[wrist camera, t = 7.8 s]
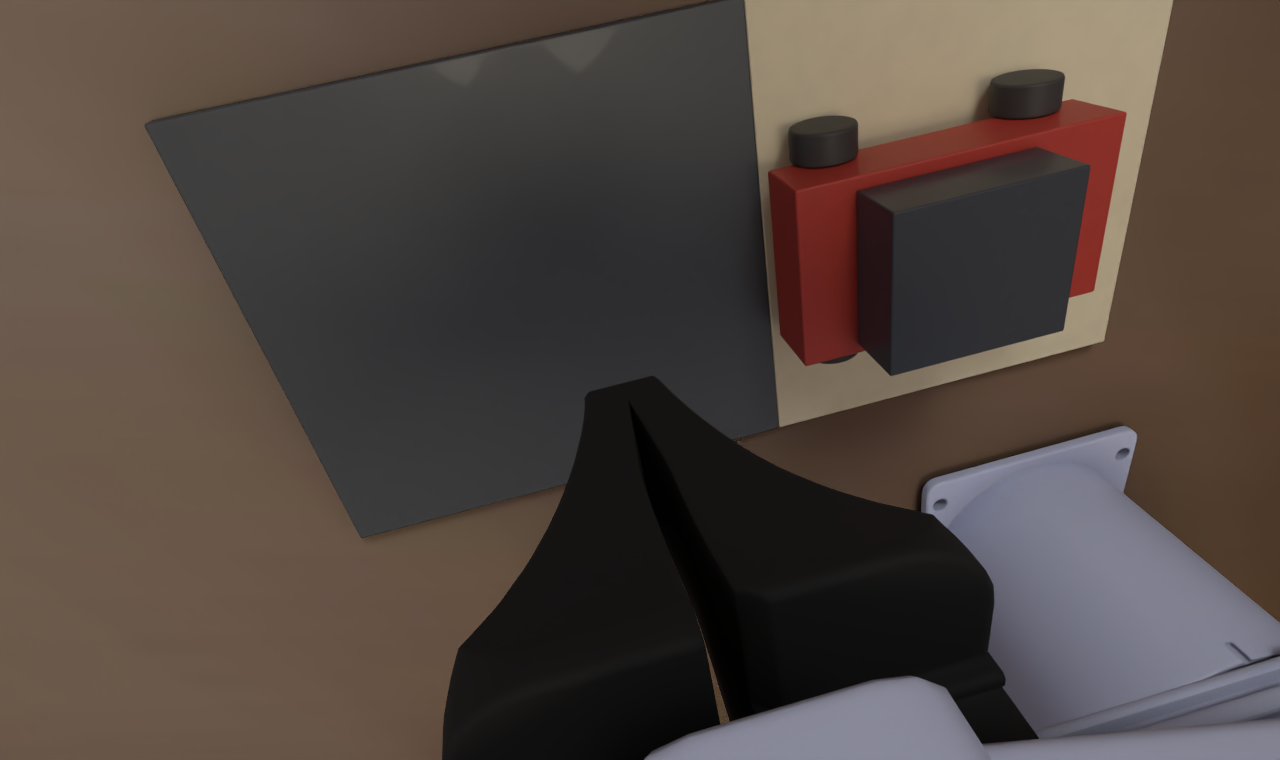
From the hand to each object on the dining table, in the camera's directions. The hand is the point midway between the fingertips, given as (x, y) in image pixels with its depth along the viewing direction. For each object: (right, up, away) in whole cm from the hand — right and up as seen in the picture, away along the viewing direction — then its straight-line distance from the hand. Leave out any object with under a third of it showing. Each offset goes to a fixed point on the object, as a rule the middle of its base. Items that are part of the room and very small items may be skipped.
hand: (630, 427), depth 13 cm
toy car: (+7, +5, +6) cm, 11 cm away
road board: (+2, +4, +6) cm, 8 cm away
